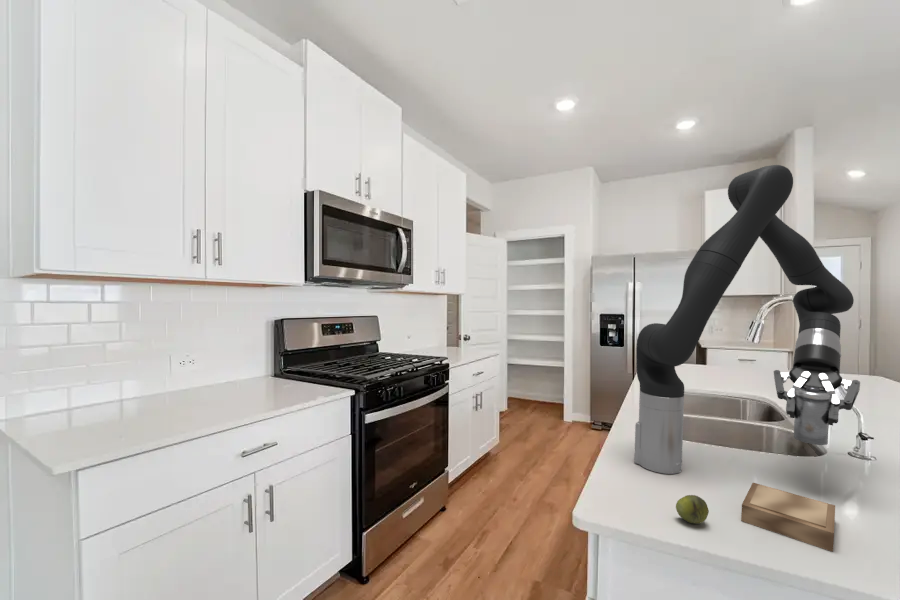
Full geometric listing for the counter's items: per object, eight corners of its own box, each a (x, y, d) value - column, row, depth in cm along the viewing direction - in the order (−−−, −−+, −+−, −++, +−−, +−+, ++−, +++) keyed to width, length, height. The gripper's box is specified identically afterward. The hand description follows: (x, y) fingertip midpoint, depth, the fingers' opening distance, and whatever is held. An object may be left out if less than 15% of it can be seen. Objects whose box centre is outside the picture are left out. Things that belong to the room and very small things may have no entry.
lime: (671, 519, 73) (672, 491, 73) (690, 513, 75) (690, 486, 75) (695, 532, 69) (696, 503, 69) (714, 526, 71) (715, 498, 71)
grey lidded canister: (790, 439, 83) (792, 387, 82) (793, 432, 87) (795, 382, 87) (829, 448, 79) (832, 392, 78) (830, 440, 83) (832, 387, 83)
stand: (741, 520, 73) (741, 502, 73) (752, 497, 82) (752, 481, 81) (833, 551, 65) (834, 531, 64) (834, 521, 73) (835, 504, 73)
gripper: (774, 339, 93) (764, 401, 84) (864, 346, 83) (863, 417, 74) (776, 359, 97) (767, 421, 88) (862, 369, 87) (860, 439, 78)
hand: (811, 419), depth 81 cm, fingers closed on grey lidded canister, 5 cm apart
